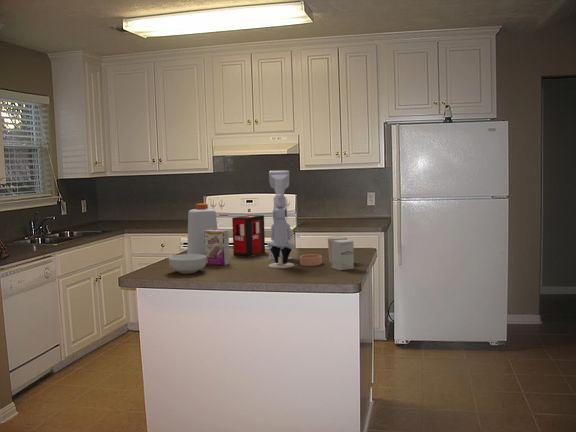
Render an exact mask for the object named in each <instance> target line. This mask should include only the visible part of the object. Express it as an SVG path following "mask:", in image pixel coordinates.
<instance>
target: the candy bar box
mask: <svg viewBox="0 0 576 432" xmlns="http://www.w3.org/2000/svg"><path fill="white" fill-rule="evenodd" d="M229 237H230V236H229V230H225V229H223V230H221V229H218V230H205V231H204V243H205V256H206V257H207V259H206V265H211V266H227V265H230V243H229V242H230V240H229V239H230V238H229Z"/></svg>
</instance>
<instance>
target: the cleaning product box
mask: <svg viewBox="0 0 576 432" xmlns="http://www.w3.org/2000/svg"><path fill="white" fill-rule="evenodd" d="M231 220H232V223H231V224H232V249H233V250H232V252H233V257H241V258H251V257H254V256H257V255H260V254H265V253H266V246H265V244H266V241H265V235H266V234H265V215H263V214H261V215H260V214H259V215H258V214H257V215H256V214H249V215H241V216H236V217H232V219H231ZM253 255H254V256H253Z"/></svg>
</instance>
